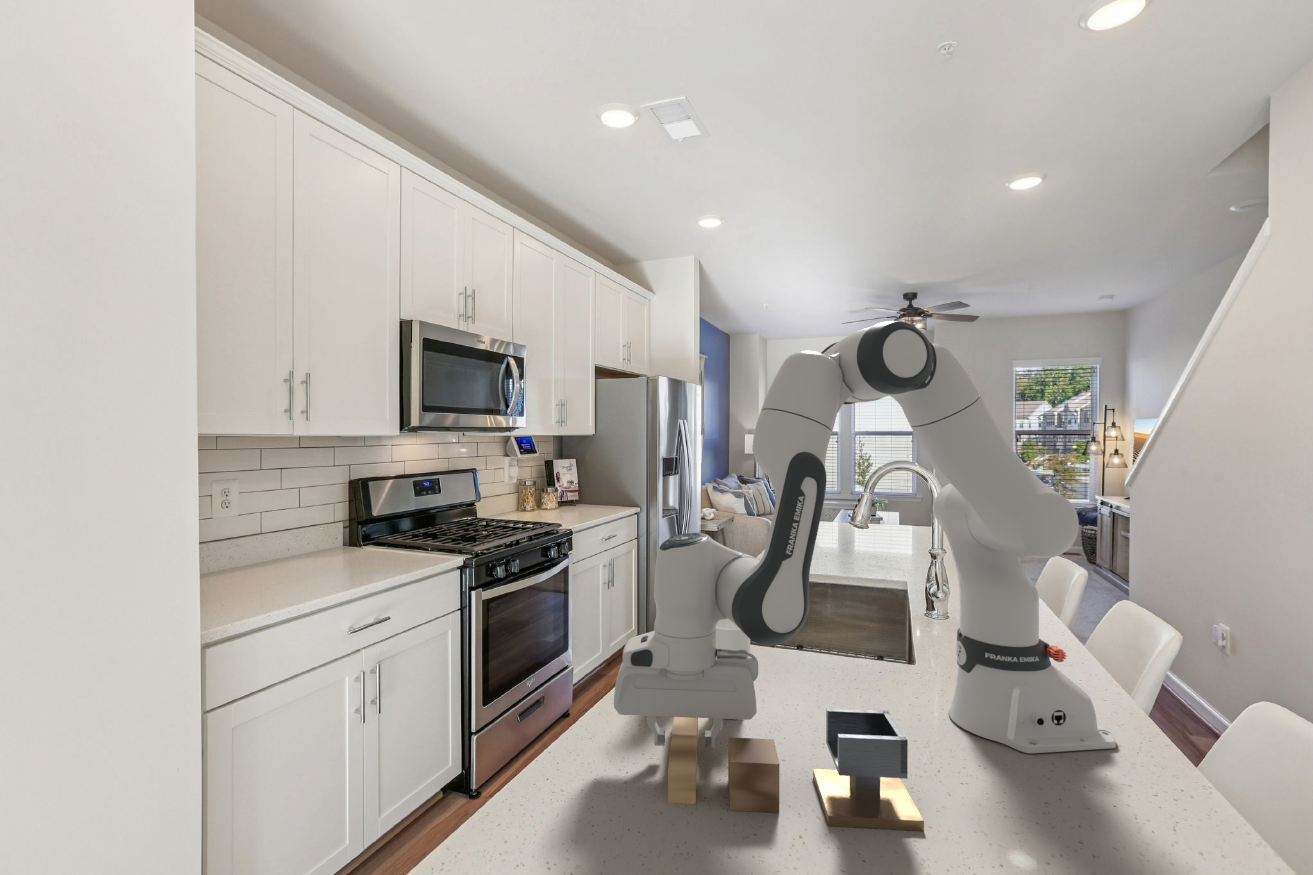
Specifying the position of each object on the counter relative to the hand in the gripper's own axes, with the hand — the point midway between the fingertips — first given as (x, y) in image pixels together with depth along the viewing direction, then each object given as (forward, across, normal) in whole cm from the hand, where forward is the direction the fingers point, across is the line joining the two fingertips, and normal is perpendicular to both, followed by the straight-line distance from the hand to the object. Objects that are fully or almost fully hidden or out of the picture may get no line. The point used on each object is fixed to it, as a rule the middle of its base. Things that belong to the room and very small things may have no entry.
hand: (684, 744), depth 85 cm
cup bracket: (+2, -23, +8) cm, 24 cm away
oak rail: (+2, 0, 0) cm, 2 cm away
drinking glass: (+2, -7, -15) cm, 17 cm away
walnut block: (+2, -9, +8) cm, 12 cm away
